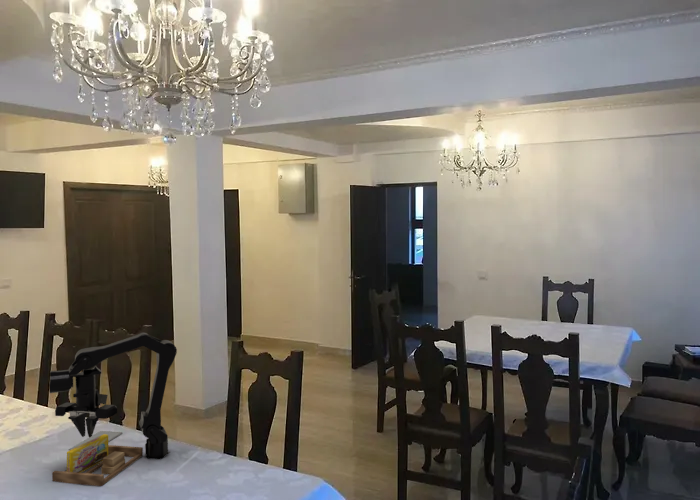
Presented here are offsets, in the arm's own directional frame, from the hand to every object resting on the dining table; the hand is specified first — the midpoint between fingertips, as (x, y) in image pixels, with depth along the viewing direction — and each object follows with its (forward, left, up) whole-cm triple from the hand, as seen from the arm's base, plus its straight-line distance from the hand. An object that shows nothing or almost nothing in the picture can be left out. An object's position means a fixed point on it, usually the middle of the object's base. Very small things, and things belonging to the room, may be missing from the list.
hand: (86, 436), depth 181 cm
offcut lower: (-9, 0, -10) cm, 14 cm away
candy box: (0, 0, -10) cm, 11 cm away
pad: (+11, -20, -10) cm, 25 cm away
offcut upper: (-9, 0, -8) cm, 12 cm away
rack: (0, 0, -10) cm, 10 cm away
